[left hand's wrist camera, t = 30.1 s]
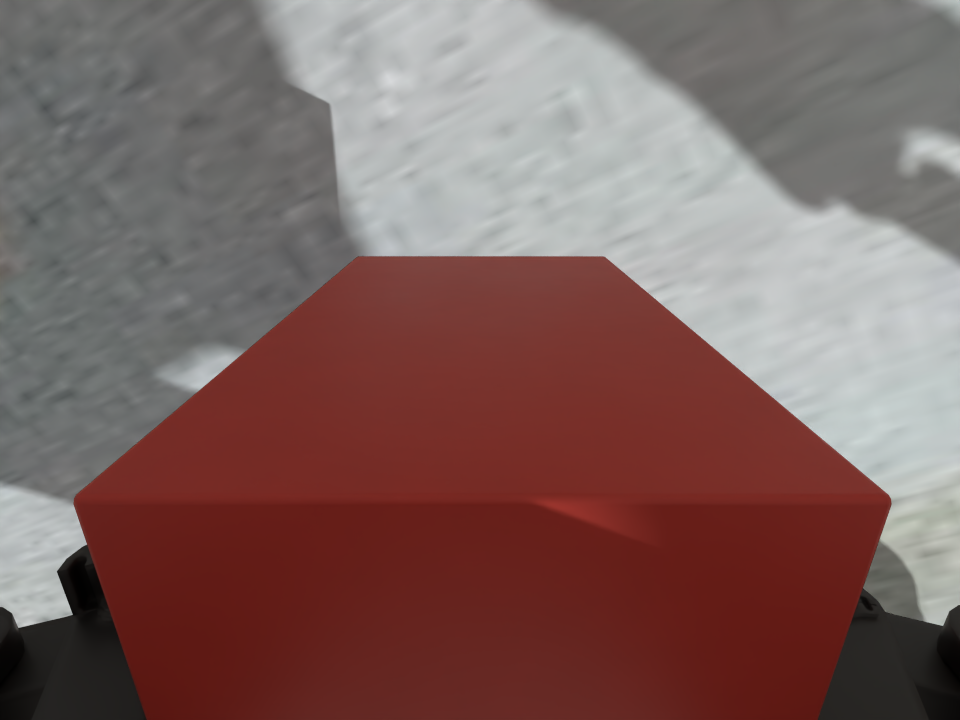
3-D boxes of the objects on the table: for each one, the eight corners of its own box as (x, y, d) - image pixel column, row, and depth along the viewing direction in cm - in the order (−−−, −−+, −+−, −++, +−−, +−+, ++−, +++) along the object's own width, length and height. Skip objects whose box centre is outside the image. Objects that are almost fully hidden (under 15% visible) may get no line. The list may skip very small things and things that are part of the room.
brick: (377, 500, 19) (233, 986, 8) (356, 256, 15) (65, 497, 5) (584, 500, 18) (729, 985, 8) (605, 256, 15) (898, 498, 5)
